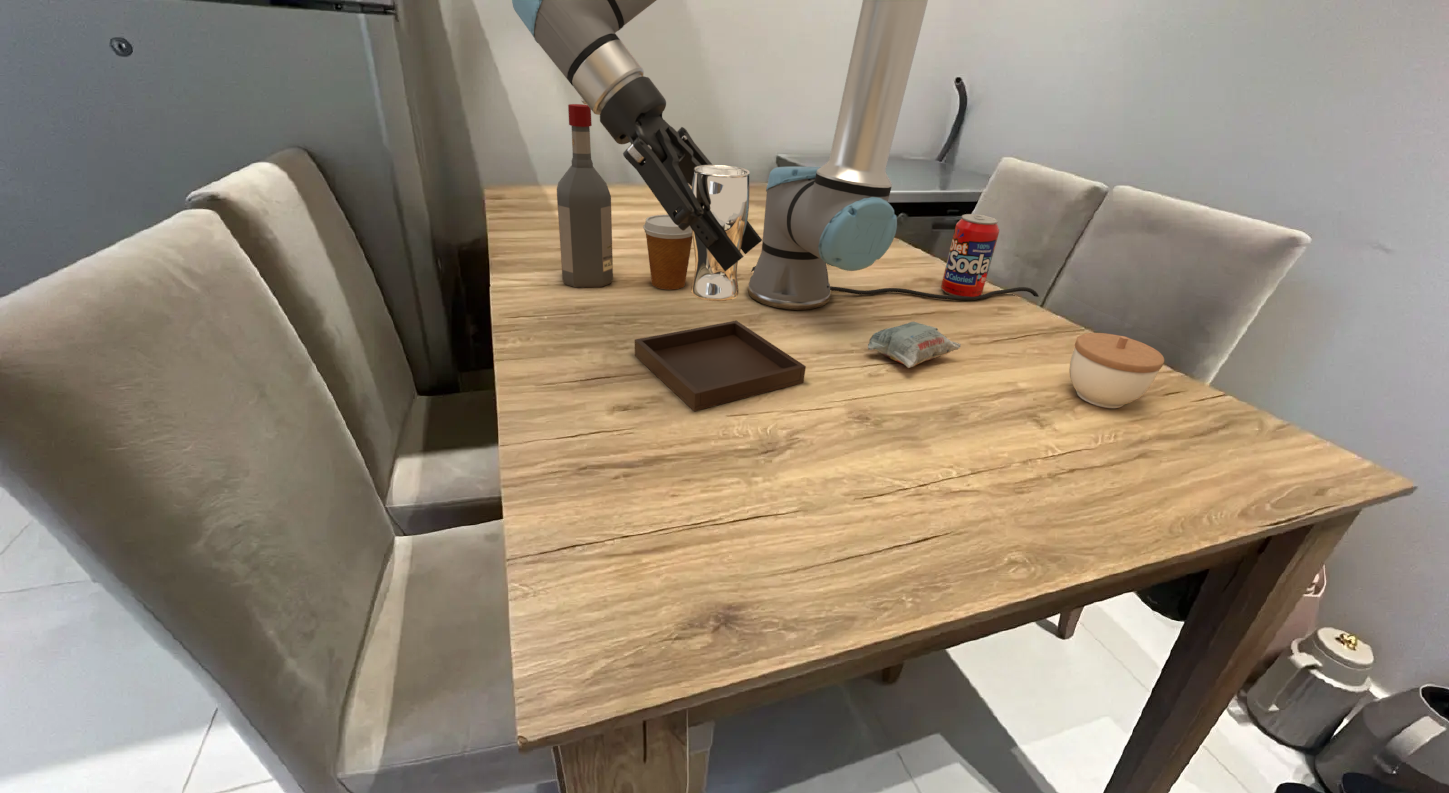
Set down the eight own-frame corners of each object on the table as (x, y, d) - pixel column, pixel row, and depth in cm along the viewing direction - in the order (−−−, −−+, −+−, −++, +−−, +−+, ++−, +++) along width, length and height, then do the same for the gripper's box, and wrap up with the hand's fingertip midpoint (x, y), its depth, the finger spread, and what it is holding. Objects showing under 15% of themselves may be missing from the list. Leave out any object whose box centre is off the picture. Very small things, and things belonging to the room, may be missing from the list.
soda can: (977, 289, 127) (997, 215, 120) (984, 303, 121) (1006, 225, 113) (937, 285, 128) (955, 211, 121) (942, 298, 122) (961, 220, 114)
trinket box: (1155, 422, 84) (1184, 359, 79) (1071, 410, 85) (1095, 348, 81) (1125, 385, 93) (1150, 327, 89) (1050, 375, 95) (1071, 317, 90)
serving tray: (735, 335, 100) (736, 320, 99) (803, 382, 88) (806, 366, 86) (634, 355, 92) (634, 339, 90) (694, 411, 79) (695, 393, 78)
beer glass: (678, 296, 78) (681, 170, 71) (700, 280, 84) (705, 162, 76) (730, 306, 76) (739, 178, 69) (749, 289, 82) (759, 169, 74)
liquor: (563, 288, 114) (550, 107, 99) (562, 272, 121) (550, 101, 106) (614, 287, 116) (609, 109, 101) (610, 271, 123) (605, 103, 109)
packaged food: (956, 361, 97) (964, 331, 95) (906, 379, 91) (913, 347, 88) (911, 340, 103) (917, 312, 101) (862, 356, 97) (867, 326, 94)
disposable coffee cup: (686, 295, 114) (688, 230, 108) (636, 289, 116) (635, 223, 110) (698, 279, 123) (701, 217, 117) (651, 273, 124) (652, 211, 118)
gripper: (639, 112, 83) (746, 252, 87) (555, 127, 66) (692, 298, 70) (677, 70, 79) (788, 218, 83) (598, 75, 62) (741, 259, 66)
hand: (744, 255), depth 76 cm, fingers closed on beer glass, 7 cm apart
